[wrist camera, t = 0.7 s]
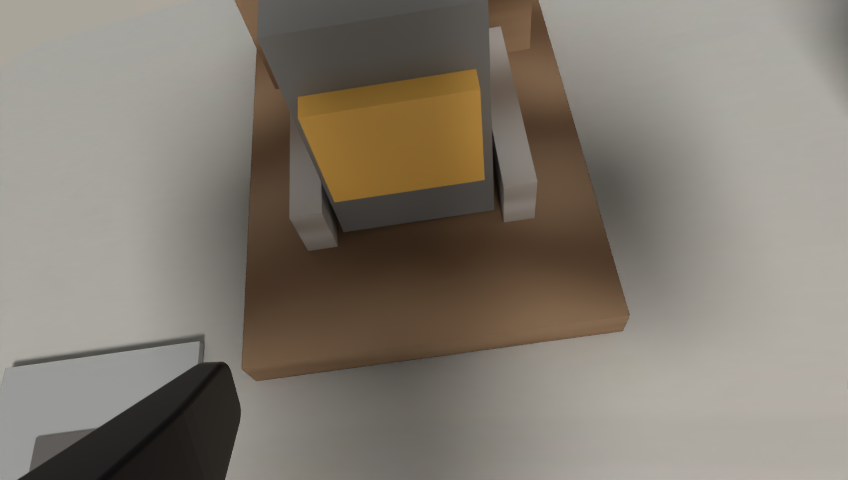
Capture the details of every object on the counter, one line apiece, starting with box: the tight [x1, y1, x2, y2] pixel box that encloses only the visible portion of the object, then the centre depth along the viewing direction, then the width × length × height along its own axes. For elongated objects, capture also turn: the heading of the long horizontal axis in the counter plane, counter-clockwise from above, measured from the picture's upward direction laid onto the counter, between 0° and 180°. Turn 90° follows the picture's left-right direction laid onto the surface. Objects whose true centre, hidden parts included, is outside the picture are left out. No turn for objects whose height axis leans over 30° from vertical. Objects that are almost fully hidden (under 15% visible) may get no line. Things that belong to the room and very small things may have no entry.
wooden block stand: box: [235, 0, 630, 381], centre depth 24 cm, size 19×14×10 cm
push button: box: [257, 0, 494, 232], centre depth 21 cm, size 5×6×10 cm
